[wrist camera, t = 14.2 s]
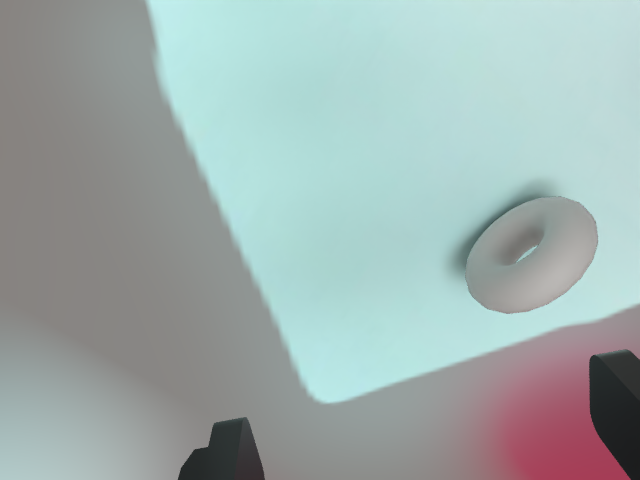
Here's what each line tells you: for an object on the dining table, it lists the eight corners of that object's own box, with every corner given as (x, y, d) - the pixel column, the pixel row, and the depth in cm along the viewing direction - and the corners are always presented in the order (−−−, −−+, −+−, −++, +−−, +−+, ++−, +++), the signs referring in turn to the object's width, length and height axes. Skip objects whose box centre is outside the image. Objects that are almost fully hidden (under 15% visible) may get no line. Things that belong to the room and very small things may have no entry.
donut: (467, 282, 45) (511, 348, 36) (441, 256, 44) (479, 316, 35) (565, 202, 43) (639, 249, 33) (540, 172, 42) (609, 212, 32)
